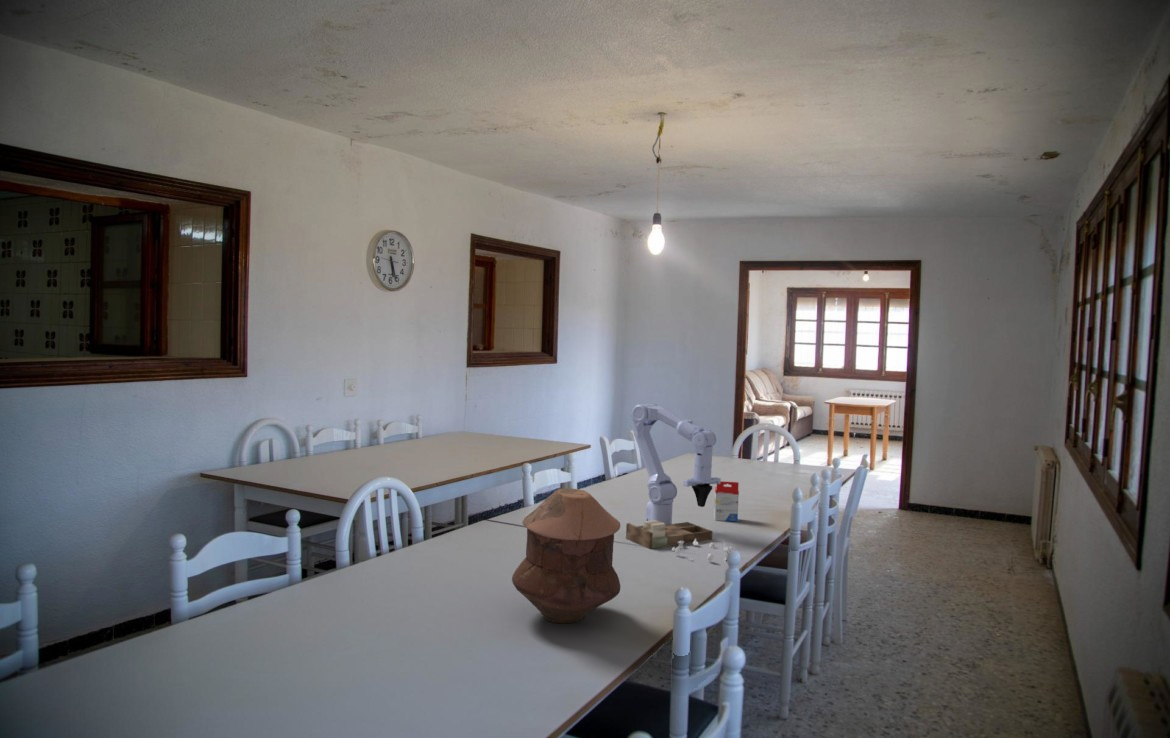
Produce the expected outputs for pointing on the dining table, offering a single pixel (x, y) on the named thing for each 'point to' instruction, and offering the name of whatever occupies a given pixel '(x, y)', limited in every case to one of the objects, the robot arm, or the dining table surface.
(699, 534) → the trap board
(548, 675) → the dining table surface
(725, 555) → the game piece set
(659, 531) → the birch block
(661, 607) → the dining table surface
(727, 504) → the ink box
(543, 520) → the pottery vessel
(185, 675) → the dining table surface
